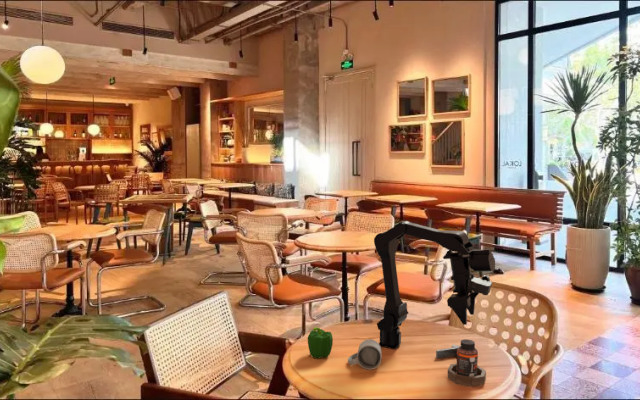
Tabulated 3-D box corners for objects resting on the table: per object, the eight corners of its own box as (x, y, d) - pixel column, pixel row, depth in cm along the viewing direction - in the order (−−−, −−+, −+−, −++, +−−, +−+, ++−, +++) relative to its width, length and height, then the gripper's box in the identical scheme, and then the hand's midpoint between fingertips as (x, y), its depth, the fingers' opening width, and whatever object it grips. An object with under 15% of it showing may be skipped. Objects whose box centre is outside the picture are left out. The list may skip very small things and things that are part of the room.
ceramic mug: (381, 359, 166) (381, 336, 166) (381, 370, 158) (381, 346, 157) (348, 358, 167) (348, 335, 167) (347, 369, 159) (346, 345, 159)
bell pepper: (327, 349, 174) (327, 320, 173) (336, 358, 167) (336, 329, 166) (303, 352, 171) (303, 323, 170) (311, 362, 164) (311, 332, 163)
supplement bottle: (477, 383, 149) (479, 346, 148) (456, 381, 151) (457, 344, 149) (475, 375, 155) (477, 338, 154) (455, 373, 156) (456, 337, 155)
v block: (473, 364, 162) (473, 357, 162) (435, 358, 167) (435, 350, 167) (477, 355, 170) (477, 348, 169) (440, 349, 175) (440, 342, 174)
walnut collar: (445, 382, 150) (445, 373, 150) (452, 368, 160) (452, 360, 159) (482, 389, 146) (482, 380, 146) (486, 374, 155) (487, 366, 155)
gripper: (480, 278, 150) (488, 330, 151) (493, 262, 166) (500, 309, 167) (443, 280, 156) (450, 329, 157) (459, 264, 172) (466, 309, 173)
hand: (468, 319), depth 163 cm, fingers open, 9 cm apart
